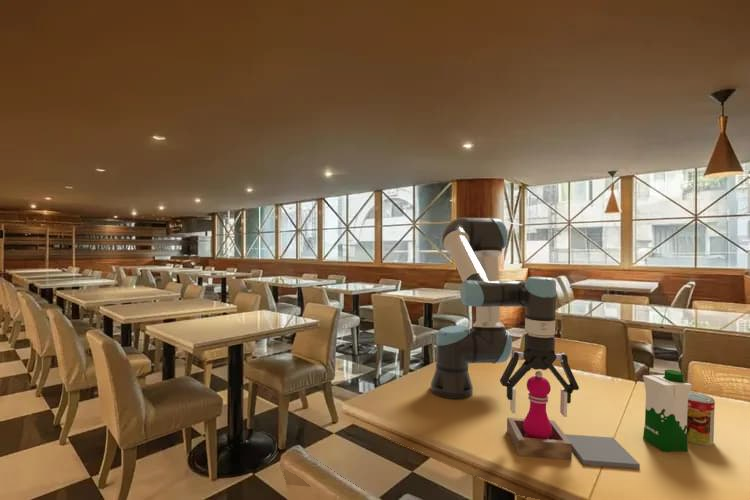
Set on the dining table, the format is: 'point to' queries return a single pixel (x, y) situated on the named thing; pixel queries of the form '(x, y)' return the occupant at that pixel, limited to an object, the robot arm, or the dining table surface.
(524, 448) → the brown wooden square tray
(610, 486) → the dining table surface
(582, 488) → the dining table surface
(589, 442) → the coaster
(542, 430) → the pepper mill
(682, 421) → the milk carton
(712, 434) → the canned food
